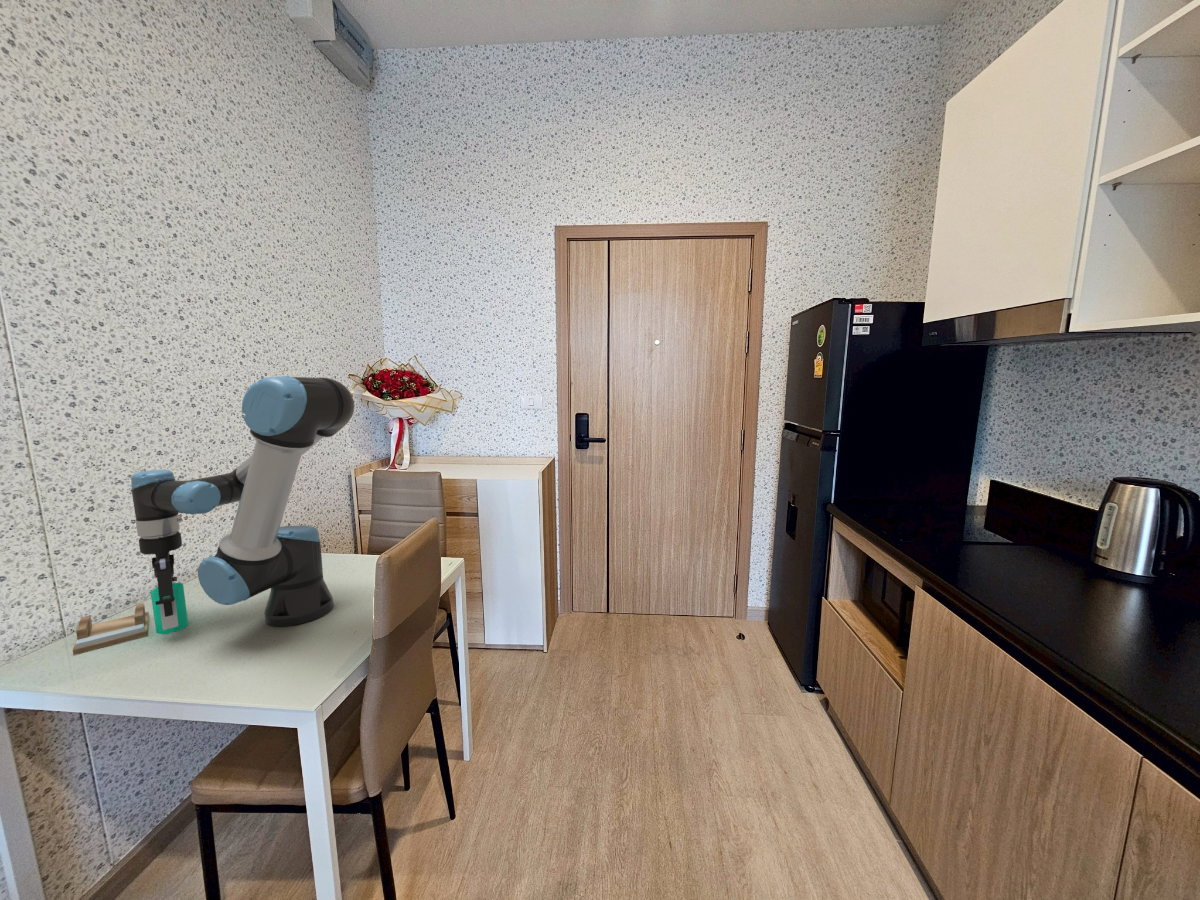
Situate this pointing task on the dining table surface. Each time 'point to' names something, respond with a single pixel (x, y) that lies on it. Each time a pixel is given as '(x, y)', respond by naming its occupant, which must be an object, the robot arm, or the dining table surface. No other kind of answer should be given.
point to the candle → (180, 608)
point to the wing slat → (109, 635)
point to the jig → (111, 629)
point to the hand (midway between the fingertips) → (170, 617)
